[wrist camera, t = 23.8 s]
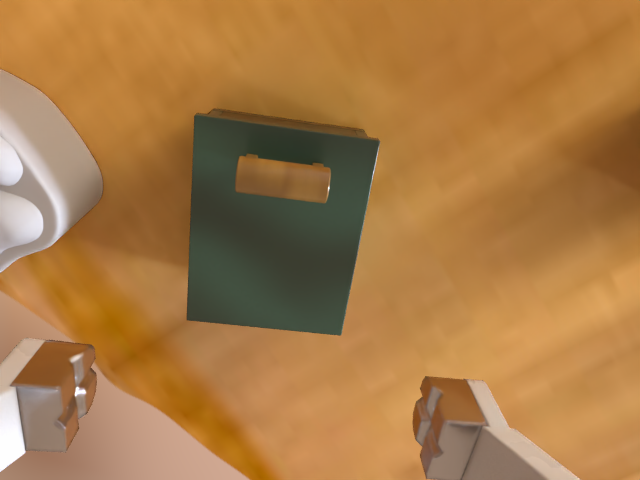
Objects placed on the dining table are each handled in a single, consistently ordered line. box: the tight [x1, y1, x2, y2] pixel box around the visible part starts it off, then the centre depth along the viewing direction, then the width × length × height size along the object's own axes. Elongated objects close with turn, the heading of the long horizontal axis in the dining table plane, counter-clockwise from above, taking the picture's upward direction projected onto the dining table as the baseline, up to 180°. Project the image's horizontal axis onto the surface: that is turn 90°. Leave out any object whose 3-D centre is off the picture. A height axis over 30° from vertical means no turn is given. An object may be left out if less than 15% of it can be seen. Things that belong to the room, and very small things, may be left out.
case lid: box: [187, 113, 380, 335], centre depth 30 cm, size 14×11×5 cm
